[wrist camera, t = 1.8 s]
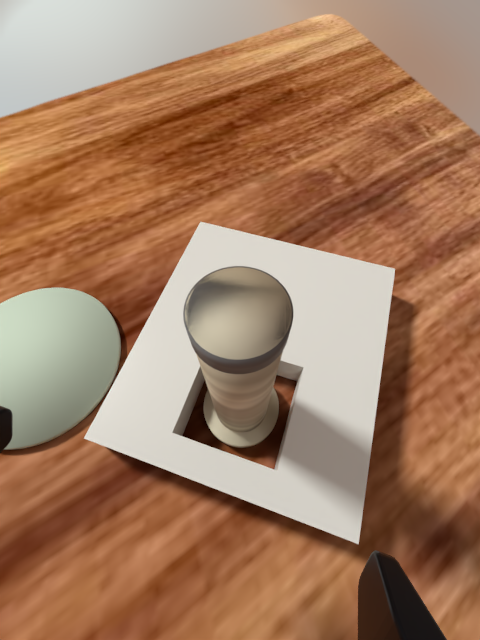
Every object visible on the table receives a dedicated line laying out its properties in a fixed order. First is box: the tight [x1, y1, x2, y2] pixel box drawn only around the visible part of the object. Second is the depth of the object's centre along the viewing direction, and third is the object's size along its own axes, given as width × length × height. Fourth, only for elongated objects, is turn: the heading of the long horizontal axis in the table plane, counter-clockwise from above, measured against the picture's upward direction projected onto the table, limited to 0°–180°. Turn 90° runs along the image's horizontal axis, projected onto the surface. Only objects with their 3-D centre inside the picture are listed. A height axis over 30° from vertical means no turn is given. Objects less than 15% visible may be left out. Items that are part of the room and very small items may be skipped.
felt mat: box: [0, 288, 121, 450], centre depth 21 cm, size 11×11×1 cm
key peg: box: [183, 266, 294, 448], centre depth 14 cm, size 4×4×12 cm
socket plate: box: [84, 222, 395, 544], centre depth 20 cm, size 16×14×2 cm
